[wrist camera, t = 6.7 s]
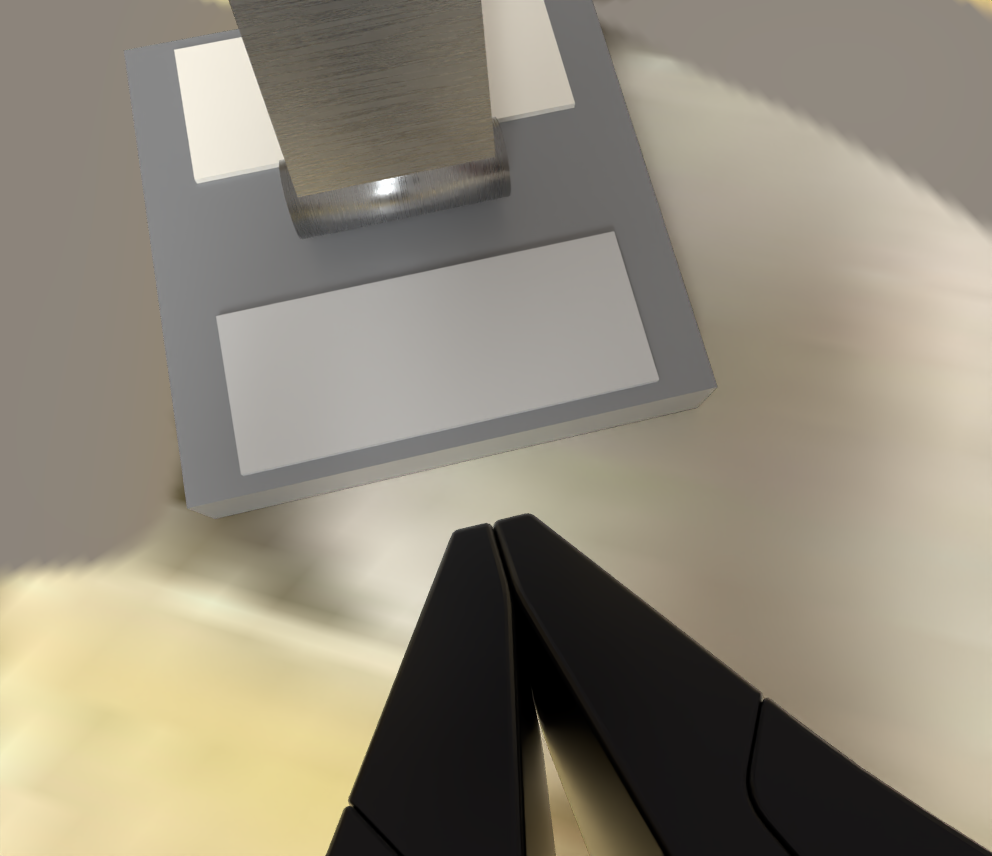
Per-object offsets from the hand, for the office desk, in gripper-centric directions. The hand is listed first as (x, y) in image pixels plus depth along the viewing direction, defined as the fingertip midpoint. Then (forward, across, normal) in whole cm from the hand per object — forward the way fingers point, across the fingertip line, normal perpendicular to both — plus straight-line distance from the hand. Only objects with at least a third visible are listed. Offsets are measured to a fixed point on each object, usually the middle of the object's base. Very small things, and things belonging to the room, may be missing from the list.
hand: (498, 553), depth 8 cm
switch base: (+17, 0, +1) cm, 17 cm away
